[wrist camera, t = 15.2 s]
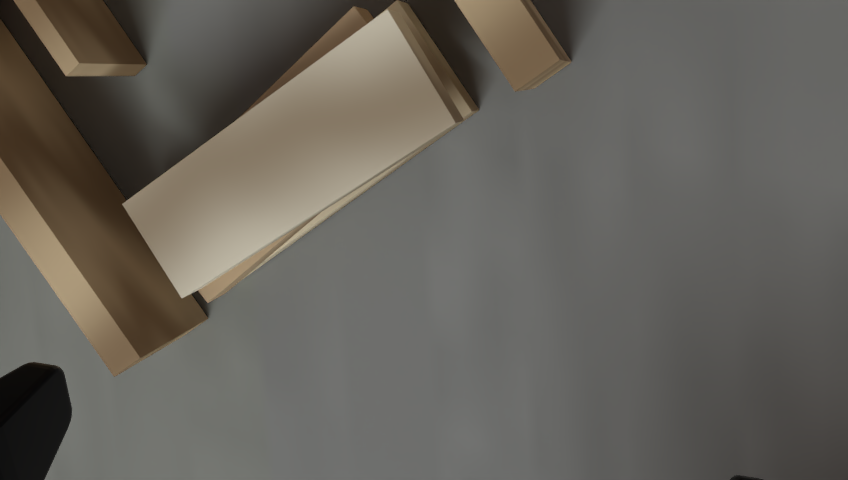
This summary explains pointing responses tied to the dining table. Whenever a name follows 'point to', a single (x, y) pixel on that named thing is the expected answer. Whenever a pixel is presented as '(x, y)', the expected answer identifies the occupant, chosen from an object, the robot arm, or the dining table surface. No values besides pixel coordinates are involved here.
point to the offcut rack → (226, 159)
